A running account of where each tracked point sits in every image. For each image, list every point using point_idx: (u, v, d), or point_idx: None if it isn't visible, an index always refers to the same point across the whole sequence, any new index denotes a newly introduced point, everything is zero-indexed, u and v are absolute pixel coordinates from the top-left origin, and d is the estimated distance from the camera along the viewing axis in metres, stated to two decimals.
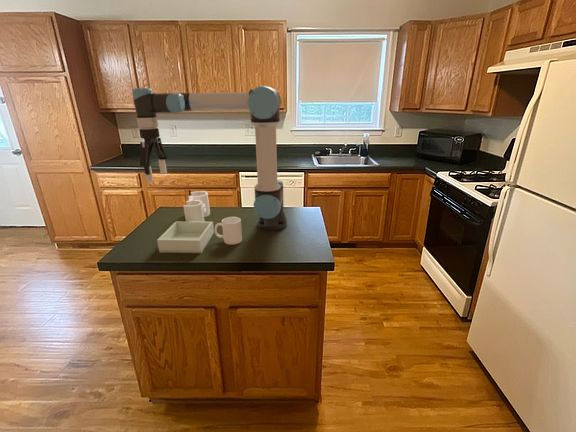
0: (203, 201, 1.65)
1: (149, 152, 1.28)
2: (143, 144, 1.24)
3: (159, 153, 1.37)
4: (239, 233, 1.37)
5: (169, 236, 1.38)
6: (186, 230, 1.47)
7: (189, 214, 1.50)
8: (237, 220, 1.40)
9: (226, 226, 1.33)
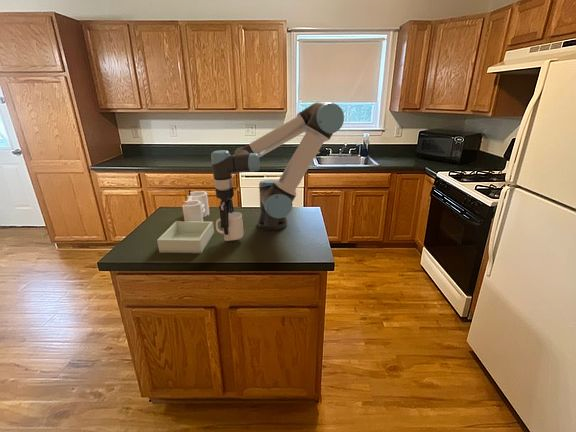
0: (202, 201, 1.65)
1: (226, 212, 1.31)
2: (222, 208, 1.27)
3: (230, 211, 1.38)
4: (240, 228, 1.36)
5: (169, 236, 1.38)
6: (186, 230, 1.47)
7: (188, 214, 1.50)
8: (238, 215, 1.39)
9: None
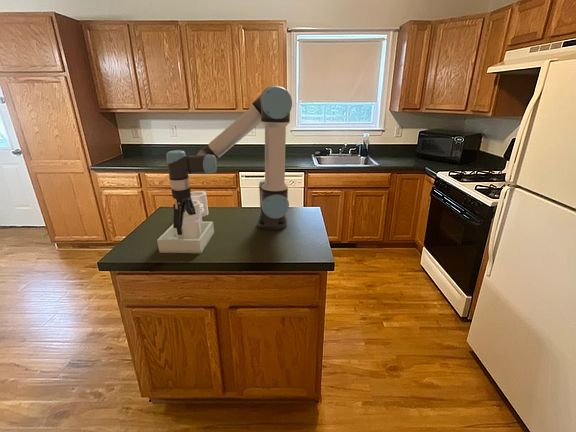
0: (201, 201, 1.65)
1: (181, 212, 1.29)
2: (176, 206, 1.26)
3: (189, 209, 1.38)
4: (198, 232, 1.35)
5: (169, 236, 1.38)
6: None
7: (187, 214, 1.50)
8: (197, 219, 1.39)
9: (183, 226, 1.32)
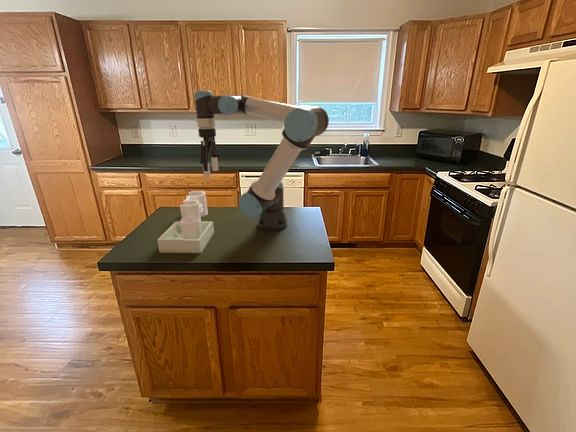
0: (200, 201, 1.65)
1: (207, 150, 1.38)
2: (203, 143, 1.34)
3: (213, 151, 1.47)
4: (198, 233, 1.36)
5: (169, 236, 1.38)
6: None
7: (185, 214, 1.50)
8: (197, 219, 1.39)
9: (184, 226, 1.32)
